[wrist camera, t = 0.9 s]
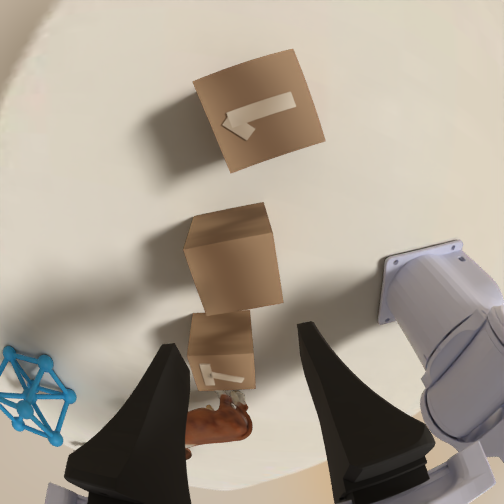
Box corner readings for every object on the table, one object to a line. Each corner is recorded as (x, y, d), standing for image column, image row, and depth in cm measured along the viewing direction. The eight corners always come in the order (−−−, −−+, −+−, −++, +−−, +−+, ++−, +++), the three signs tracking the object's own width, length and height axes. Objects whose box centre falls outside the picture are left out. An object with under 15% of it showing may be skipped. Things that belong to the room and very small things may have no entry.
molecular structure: (80, 395, 32) (64, 451, 23) (34, 384, 31) (15, 431, 22) (51, 352, 27) (23, 414, 18) (4, 341, 26) (-24, 392, 17)
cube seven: (249, 309, 24) (253, 354, 20) (252, 347, 27) (255, 389, 22) (192, 312, 24) (186, 356, 20) (201, 349, 27) (198, 391, 22)
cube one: (277, 63, 15) (293, 48, 10) (302, 131, 17) (326, 141, 13) (203, 88, 15) (192, 81, 11) (231, 156, 18) (230, 173, 13)
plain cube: (263, 201, 20) (272, 232, 15) (273, 261, 22) (283, 302, 18) (193, 215, 20) (183, 249, 15) (210, 273, 22) (206, 315, 18)
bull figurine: (140, 387, 30) (128, 443, 23) (246, 376, 29) (250, 441, 22) (155, 404, 32) (148, 457, 25) (254, 395, 31) (259, 453, 24)
